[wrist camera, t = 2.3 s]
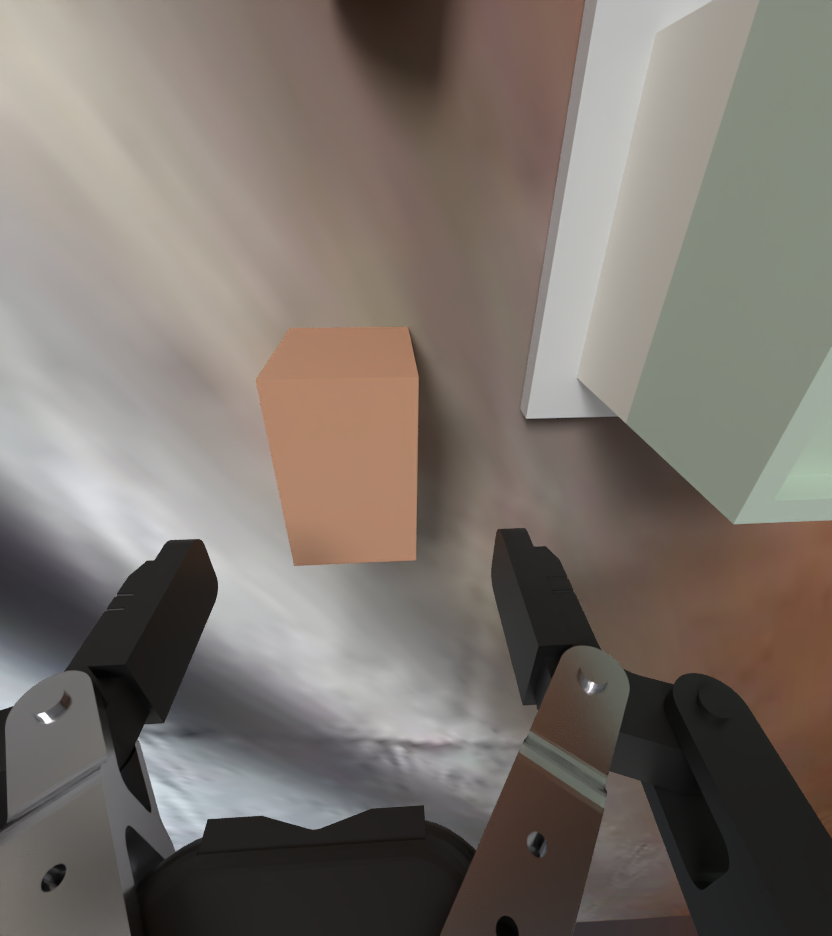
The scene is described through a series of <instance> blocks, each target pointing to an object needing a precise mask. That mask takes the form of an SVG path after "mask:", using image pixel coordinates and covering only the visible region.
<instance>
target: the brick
mask: <svg viewBox="0 0 832 936" xmlns="http://www.w3.org/2000/svg"><path fill="white" fill-rule="evenodd" d="M256 384H257V388H258V393H259V398H260V403H261V408H262V413H263V417H264V422H265V427H266V432H267V437H268V442H269V446H270V451H271V456H272V461H273V466H274V470H275V475H276V480H277V485H278V490H279V495H280V499H281V504H282V509H283V514H284V519H285V524H286V528H287V533H288V538H289V543H290V548H291V553H292V557H293V562H294V566H300V565H322V564H344V563H366V562H388V561H411V560H416V527H417V458H418V389H419V376H418V372H417V367H416V362H415V357H414V353H413V348H412V343H411V338H410V334H409V329H408V327H355V328H290V329H289V330H288V332H287V333H286V335H285V336H284V338H283V339H282V341H281V342H280V344H279V345H278V347H277V348H276V350H275V351H274V353H273V354H272V356H271V357H270V359H269V360H268V362H267V364H266V365H265V367H264V368H263V370H262V371H261V373H260V374H259V376H258V377H257V379H256Z"/></svg>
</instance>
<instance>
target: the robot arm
mask: <svg viewBox="0 0 832 936" xmlns="http://www.w3.org/2000/svg"><path fill="white" fill-rule="evenodd" d="M491 578H492V587H493V591H494V595H495V599H496V603H497V607H498V611H499V615H500V618H501V622H502V626H503V630H504V634H505V638H506V642H507V646H508V649H509V653H510V657H511V661H512V665H513V669H514V673H515V676H516V680H517V684H518V688H519V692H520V696H521V700H522V704H523V705H537V709H538V713H537V715H536V717H535V720H534V722H533V724H532V727H531V729H530V731H529V734H528V736H527V738H525V740H524V742H523V744H522V746H521V748H520V750H519V752H518V755H517V757H516V759H515V762H514V764H513V766H512V769H511V771H510V773H509V776H508V778H507V780H506V783H505V785H504V787H503V790H502V792H501V794H500V797H499V799H498V801H497V804H496V806H495V808H494V810H493V813H492V815H491V817H490V820H489V822H488V824H487V827H486V829H485V831H484V834H483V836H482V838H481V841H480V843H479V845H478V848H477V850H475V849H474V848H473V847H472V846H471V845H470V844H469V843H468V842H466V841H465V840H464V839H463V838H462V837H461V836H459V835H457V834H456V833H454V832H453V831H451V830H450V829H448V828H446V827H444V826H441V825H439V824H437V823H434V822H430V821H427V820H425V816H424V805H423V806H407V807H392V808H376V809H370V810H367V811H365V812H362V813H360V814H357V815H354V816H352V817H349V818H347V819H344V820H341V821H339V822H336V823H334V824H331V825H329V826H326V827H323V828H321V829H317V830H311V829H307V828H303V827H300V826H296V825H292V824H289V823H285V822H282V821H278V820H275V819H271V818H268V817H264V816H252V817H236V818H221V819H208V820H207V824H206V827H205V831H204V834H203V838H200V839H197V840H195V841H194V842H192V843H190V844H188V845H186V846H184V847H182V848H181V849H179V850H178V851H176V852H175V849H174V846H173V844H172V841H171V839H170V837H169V835H168V833H167V831H166V829H165V827H164V825H163V823H162V820H161V818H160V815H159V811H158V808H157V804H156V801H155V797H154V793H153V790H152V786H151V782H150V779H149V775H148V771H147V768H146V764H145V760H144V757H143V753H142V749H141V746H140V743H139V741H138V740H137V739H138V737H139V734H140V732H141V730H142V728H143V726H144V724H158V723H164V722H165V719H166V717H167V715H168V712H169V710H170V707H171V705H172V703H173V700H174V698H175V696H176V693H177V691H178V689H179V686H180V684H181V681H182V679H183V677H184V674H185V672H186V670H187V667H188V665H189V663H190V660H191V658H192V655H193V653H194V651H195V648H196V646H197V644H198V641H199V639H200V637H201V634H202V632H203V629H204V627H205V625H206V622H207V620H208V618H209V615H210V613H211V610H212V608H213V606H214V603H215V601H216V598H217V592H218V581H217V577H216V574H215V571H214V569H213V566H212V564H211V561H210V558H209V556H208V553H207V550H206V548H205V545H204V543H203V541H202V540H200V539H189V540H170V541H168V542H167V543H166V544H165V545H164V546H163V548H162V549H161V551H160V553H159V554H158V556H157V557H156V559H155V560H154V561H146V562H145V563H144V564H143V565H142V566H140V567H139V568H138V569H137V570H136V571H134V572H133V573H132V574H131V575H130V576H129V577H128V578H127V580H126V581H125V583H124V584H123V586H122V587H121V589H120V590H119V592H118V593H117V597H114V599H113V600H112V602H111V603H110V605H109V606H108V608H107V609H108V610H107V612H104V614H103V615H102V617H101V618H100V620H99V621H98V623H97V624H96V626H95V627H94V629H93V630H92V632H91V633H90V635H89V636H88V637H87V639H86V640H85V642H84V643H83V645H82V646H81V648H80V649H79V651H78V652H77V654H76V655H75V657H74V658H73V660H72V661H71V663H70V664H69V666H68V667H67V668H66V670H65V671H64V672H61V673H58V674H55V675H53V676H50V677H48V678H46V679H45V680H43V681H41V682H39V683H38V684H36V685H35V686H33V687H32V688H31V689H30V690H28V691H27V692H26V693H25V694H24V695H23V696H22V697H21V698H20V699H19V700H18V701H17V702H16V704H15V705H14V706H12V707H9V708H6V709H3V710H0V936H572V935H573V931H574V927H575V923H576V919H577V915H578V911H579V907H580V903H581V899H582V895H583V891H584V887H585V883H586V879H587V876H588V872H589V868H590V864H591V860H592V856H593V852H594V848H595V844H596V840H597V836H598V832H599V828H600V824H601V820H602V816H603V812H604V807H605V803H606V796H607V791H606V790H605V786H606V781H607V777H608V773H609V771H611V772H614V773H618V774H621V775H624V776H627V777H630V778H634V779H637V780H640V781H641V783H642V785H643V788H644V791H645V793H646V796H647V799H648V801H649V804H650V807H651V809H652V812H653V815H654V818H655V820H656V823H657V826H658V828H659V831H660V834H661V836H662V839H663V842H664V844H665V847H666V850H667V852H668V855H669V858H670V860H671V863H672V866H673V869H674V871H675V874H676V877H677V879H678V882H679V885H680V887H681V890H682V893H683V895H684V898H685V901H686V903H687V906H688V909H689V911H690V914H691V917H692V919H693V922H694V925H695V927H696V930H697V933H698V936H832V839H831V837H830V835H829V834H828V832H827V831H826V829H825V828H824V826H823V824H822V823H821V821H820V820H819V818H818V817H817V815H816V813H815V812H814V810H813V809H812V807H811V805H810V804H809V802H808V801H807V799H806V798H805V796H804V794H803V793H802V791H801V790H800V788H799V787H798V785H797V783H796V782H795V780H794V779H793V777H792V775H791V774H790V772H789V771H788V769H787V768H786V766H785V764H784V763H783V761H782V760H781V758H780V756H779V755H778V753H777V752H776V750H775V749H774V747H773V745H772V744H771V742H770V741H769V739H768V738H767V736H766V734H765V733H764V731H763V730H762V728H761V726H760V725H759V723H758V722H757V720H756V719H755V717H754V715H753V714H752V712H751V711H750V709H749V708H748V706H747V705H746V703H745V702H744V701H743V700H742V698H741V697H740V696H739V695H738V694H737V693H736V692H735V691H733V690H732V689H731V688H730V687H728V686H727V685H725V684H724V683H722V682H721V681H719V680H717V679H715V678H713V677H710V676H707V675H703V674H697V673H690V674H685V675H682V676H681V677H679V678H678V679H677V680H676V682H675V683H674V684H670V683H666V682H662V681H658V680H655V679H651V678H647V677H643V676H639V675H636V674H633V673H631V672H629V671H626V670H625V669H623V668H622V667H621V665H620V664H619V663H618V662H617V661H616V660H615V659H614V658H613V657H612V656H610V655H609V654H607V653H606V652H604V651H602V649H601V648H600V646H599V644H598V643H597V640H596V638H595V636H594V634H593V632H592V630H591V627H590V625H589V623H588V621H587V619H586V616H585V614H584V612H583V610H582V608H581V606H580V603H579V601H578V599H577V597H576V595H575V593H573V588H572V586H571V584H570V582H569V579H567V575H566V573H565V571H564V569H563V566H562V564H561V562H560V560H559V559H558V558H557V557H556V556H555V555H554V554H553V553H552V552H551V551H550V550H549V549H548V548H547V547H546V546H543V547H533V544H532V542H531V539H530V537H529V534H528V532H527V530H526V529H525V528H515V529H498V530H497V532H496V538H495V546H494V553H493V560H492V568H491Z"/></svg>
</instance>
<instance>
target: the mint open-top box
mask: <svg viewBox="0 0 832 936" xmlns="http://www.w3.org/2000/svg"><path fill="white" fill-rule="evenodd" d="M520 410H521V412H522V413H523V415H524V416H525V418H526V419H533V418H574V417H616V416H618V417H620V418H621V419H622V420H623V421H624V422H625V423H626V424H627V425H628V426H629V427H630V428H631V429H632V430H633V431H635V432H636V433H637V434H638V435H639V436H640V437H641V438H642V439H643V440H644V441H645V442H646V443H647V444H648V445H649V446H651V447H652V448H653V449H654V450H655V451H656V452H657V453H658V454H659V455H660V456H661V457H662V458H663V459H664V460H665V461H667V462H668V463H669V464H670V465H671V466H672V467H673V468H674V469H675V470H676V471H677V472H678V473H679V474H680V475H681V476H683V477H684V478H685V479H686V480H687V481H688V482H689V483H690V484H691V485H692V486H693V487H694V488H695V489H696V490H697V491H699V492H700V493H701V494H702V495H703V496H704V497H705V498H706V499H707V500H708V501H709V502H710V503H711V504H712V505H713V506H715V507H716V508H717V509H718V510H719V511H720V512H721V513H722V514H723V515H724V516H725V517H726V518H727V519H728V520H730V521H731V522H732V523H733V524H750V523H774V522H797V521H820V520H832V0H585V6H584V13H583V19H582V25H581V31H580V38H579V44H578V50H577V56H576V63H575V69H574V75H573V81H572V88H571V94H570V100H569V107H568V113H567V119H566V125H565V132H564V138H563V144H562V150H561V157H560V163H559V169H558V175H557V182H556V188H555V194H554V201H553V207H552V213H551V219H550V226H549V232H548V238H547V244H546V251H545V257H544V263H543V269H542V276H541V282H540V288H539V295H538V301H537V307H536V313H535V320H534V326H533V332H532V338H531V345H530V351H529V357H528V363H527V370H526V376H525V382H524V389H523V395H522V401H521V407H520Z"/></svg>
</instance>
